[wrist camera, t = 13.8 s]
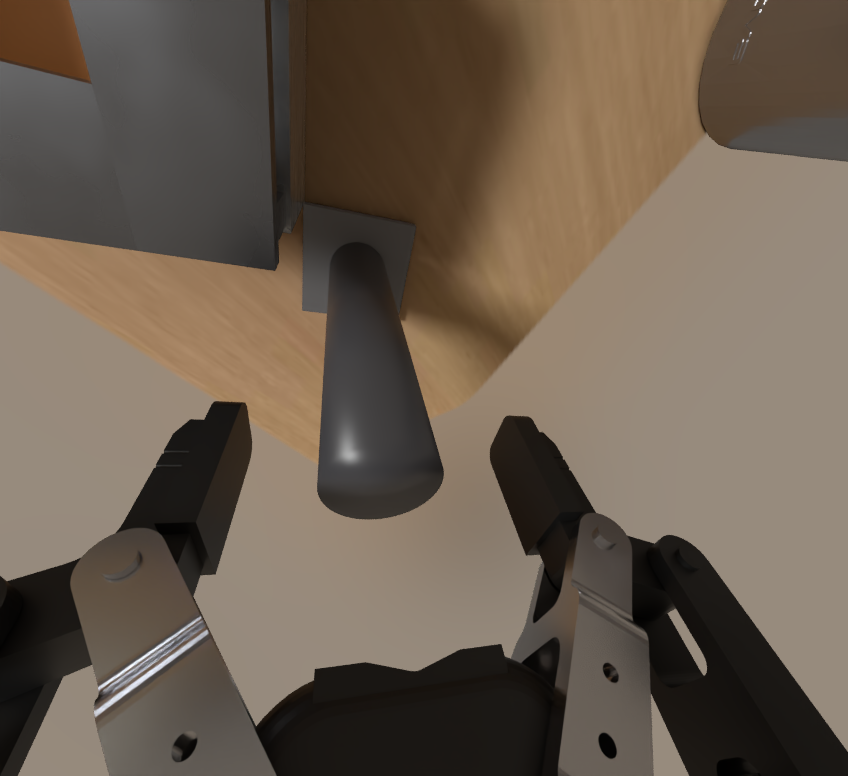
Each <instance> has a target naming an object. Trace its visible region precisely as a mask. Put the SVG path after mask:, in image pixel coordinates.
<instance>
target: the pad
mask: <svg viewBox="0 0 848 776" xmlns="http://www.w3.org/2000/svg"><path fill="white" fill-rule="evenodd" d="M415 231H416V225H415V224H412V223H408V222H403V221H398V220H393V219H388V218H383V217H378V216H373V215H368V214H363V213H358V212H353V211H348V210H344V209H339V208H334V207H329V206H324V205H319V204H314V203H309V202H304V204H303V298H302V311H310V312H319V313H327V304H328V287H329V269H330V261H331V258H332V256H333V254H334V253H335V252H336V250H337V249H338V248H340V247H341V246H343V245H345V244H348V243H352V242H360V243H364V244H367V245H369V246H371V247H372V248H374V249H375V250H376V251H377V252H378V253H379V254H380V256H381V257H382V260H383V262H384V265H385V269H386V272H387V276H388V279H389V283H390V286H391V290H392V293H393V297H394V300H395V303H396V307H397V310H398V314H399V312H400V307H401V302H402V297H403V292H404V287H405V282H406V276H407V271H408V266H409V261H410V256H411V251H412V246H413V241H414V236H415Z"/></svg>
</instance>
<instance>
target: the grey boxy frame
mask: <svg viewBox="0 0 848 776" xmlns="http://www.w3.org/2000/svg"><path fill="white" fill-rule="evenodd" d="M69 3H70V7H71V10H72V14H73V18H74V21H75V25H76V29H77V32H78V36H79V40H80V43H81V47H82V51H83V54H84V58H85V62H86V65H87V69H88V72H89V76H90V80H91V81H90V80H86V79H82V78H78V77H74V76H70V75H66V74H62V73H58V72H54V71H50V70H46V69H43V68H39V67H35V66H31V65H27V64H23V63H19V62H15V61H11V60H7V59H3V58H0V231H6V232H13V233H20V234H27V235H34V236H41V237H47V238H54V239H61V240H68V241H75V242H82V243H88V244H95V245H102V246H109V247H116V248H123V249H129V250H136V251H143V252H150V253H157V254H164V255H170V256H177V257H184V258H191V259H198V260H205V261H211V262H218V263H225V264H232V265H239V266H246V267H252V268H259V269H266V270H273V271H275V270H276V268H277V265H278V263H279V247H278V241H279V239H280V237H281V235H282V233H283V232H284V233H290V234H291V232H292V230H293V227H294V225H295V223H296V220H297V218H298V216H299V213H300V211H301V209H302V206H303V204H304V201H305V115H306V30H307V0H69Z"/></svg>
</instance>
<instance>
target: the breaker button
mask: <svg viewBox="0 0 848 776" xmlns="http://www.w3.org/2000/svg"><path fill="white" fill-rule="evenodd" d="M0 58H3V59H7V60H11V61H15V62H19V63H23V64H27V65H31V66H35V67H39V68H43V69H46V70H50V71H54V72H58V73H62V74H66V75H70V76H74V77H78V78H82V79H86V80H90V76H89V72H88V69H87V65H86V62H85V58H84V54H83V51H82V47H81V43H80V40H79V36H78V32H77V29H76V25H75V21H74V18H73V14H72V10H71V7H70V3H69V0H0ZM90 81H91V80H90Z"/></svg>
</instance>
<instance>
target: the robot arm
mask: <svg viewBox="0 0 848 776" xmlns="http://www.w3.org/2000/svg"><path fill="white" fill-rule="evenodd" d="M699 108H700V113H701V118H702V123H703V125H704V127H705V129H706V131H707V133H708V135H709V137H711V138H712V139H713V140H714V141H715V142H716V143H717V144H718V145H721V146H724V147H727V148H730V149H737V150H747V151H756V152H766V153H775V154H784V155H794V156H800V157H810V158H819V159H828V160H839V161H847V162H848V0H728V1H727V3H726V5H725V7H724V10H723V12H722V14H721V16H720V18H719V21H718V23H717V25H716V27H715V30H714V32H713V35H712V38H711V41H710V44H709V47H708V50H707V53H706V56H705V59H704V64H703V69H702V75H701V80H700V90H699ZM251 452H252V437H251V430H250V424H249V417H248V410H247V406H246V403H243V402H221V401H215V402H213V404H212V405H211V407H210V409H209V411H208V413H207V415H206V417H205V419H204V420H193V419H191V420H189V421H188V422H187V423H186V424H184V425H183V426H182V427H181V428H179V429H178V430H177V431H176V432H175V433H174V434H173V435H172V437H171V439H170V441H169V442H168V444H167V446H166V448H165V449H164V454H162V455H161V457H160V458H159V460H158V462H157V464H156V468H154V469H153V471H152V473H151V475H150V476H149V478H148V480H147V482H146V483H145V485H144V487H143V489H142V491H141V492H140V494H139V496H138V498H137V499H136V501H135V503H134V505H133V506H132V508H131V510H130V512H129V514H128V515H127V517H126V519H125V521H124V522H123V524H122V525H121V527H120V528H119V530H118V531H117V532H116V533H115V534H113V535H110V536H109V537H107V538H105V539H103V540H102V541H100V542H99V543H97V544H96V545H94V546H93V547H92V548H91V549H89V550H88V551H87V552H86V554H84V555H83V557H82V558H79V559H77V560H75V561H72V562H69V563H67V564H64V565H60V566H57V567H54V568H50V569H47V570H44V571H41V572H37V573H34V574H30V575H27V576H24V577H20V578H17V579H13V580H10V581H6V580H4V579H3V578H2V577H1V576H0V776H18V774H19V772H20V769H21V767H22V765H23V763H24V761H25V759H26V757H27V754H28V752H29V750H30V748H31V746H32V743H33V741H34V739H35V737H36V735H37V733H38V730H39V728H40V726H41V724H42V722H43V720H44V717H45V715H46V713H47V711H48V709H49V707H50V704H51V702H52V700H53V698H54V695H55V693H56V691H57V689H58V687H59V685H60V683H61V680H62V678H63V676H66V675H68V674H71V673H73V672H75V671H78V670H80V669H82V668H85V667H88V666H90V665H93V669H94V672H95V676H96V679H97V683H98V688H99V695H98V698H97V699H96V700H95V704H94V715H95V721H96V726H97V731H98V735H99V738H100V742H101V746H102V750H103V753H104V757H105V761H106V765H107V768H108V772H109V776H653V748H652V747H653V746H652V718H651V694H652V696H653V698H654V701H655V703H656V705H657V707H658V709H659V711H660V713H661V716H662V718H663V720H664V722H665V724H666V727H667V729H668V731H669V733H670V735H671V737H672V740H673V742H674V744H675V746H676V748H677V750H678V753H679V755H680V757H681V759H682V761H683V763H684V765H685V768H686V770H687V772H688V774H689V776H848V752H847V750H846V749H845V748H844V746H843V745H842V743H841V742H840V741H839V739H838V738H837V737H836V735H835V734H834V733H833V731H832V730H831V728H830V727H829V726H828V724H827V723H826V722H825V720H824V719H823V718H822V716H821V715H820V713H819V712H818V711H817V709H816V708H815V707H814V705H813V704H812V702H811V701H810V700H809V698H808V697H807V696H806V694H805V693H804V691H803V690H802V689H801V687H800V686H799V685H798V683H797V682H796V681H795V679H794V678H793V676H792V675H791V674H790V672H789V671H788V669H787V668H786V667H785V665H784V664H783V663H782V661H781V660H780V659H779V657H778V656H777V654H776V653H775V652H774V650H773V649H772V648H771V646H770V645H769V643H768V642H767V641H766V639H765V638H764V637H763V635H762V634H761V632H760V631H759V630H758V628H757V627H756V626H755V624H754V623H753V622H752V620H751V619H750V617H749V616H748V615H747V614H746V612H745V611H744V609H743V608H742V606H741V605H740V604H739V603H738V601H737V600H736V598H735V597H734V595H733V594H732V593H731V592H730V590H729V589H728V587H727V586H726V584H725V583H724V582H723V580H722V579H721V578H720V576H719V575H718V573H717V572H716V571H715V570H714V568H713V567H712V565H711V564H710V563H709V561H708V560H707V559H706V558H705V556H704V555H703V554H702V553H701V552H700V551H699V550H698V549H697V548H696V547H695V546H693V545H692V544H691V543H689V542H688V541H685V540H684V539H682V538H679V537H677V536H673V535H666V536H663V537H662V538H661V539H660V540H658V541H657V542H656V543H655V544H654V543H650V542H647V541H643V540H640V539H636V538H633V537H630V536H627V535H626V533H625V532H624V531H623V529H621V527H620V526H619V525H618V524H617V523H615V522H614V521H613V520H611V519H610V518H608V517H606V516H604V515H601V514H598V513H596V512H595V510H594V509H593V507H592V506H591V504H590V502H589V500H588V499H587V497H586V495H585V494H584V492H583V490H582V489H581V487H580V485H579V484H578V482H577V480H576V479H575V477H574V475H573V473H572V472H571V471H570V470H569V467H568V465H567V463H566V462H565V460H563V456H562V455H561V453H560V451H559V450H558V448H557V446H556V445H555V444H554V442H552V441H551V440H550V439H549V438H548V437H547V436H546V435H545V434H544V433H542V432H539V431H538V429H537V427H536V425H535V424H534V422H533V420H532V419H531V418H530V417H525V416H506V417H505V418H504V420H503V422H502V424H501V426H500V428H499V430H498V433H497V435H496V437H495V439H494V441H493V443H492V445H491V448H490V461H491V465H492V467H493V470H494V472H495V475H496V478H497V480H498V483H499V486H500V488H501V491H502V493H503V496H504V499H505V502H506V504H507V507H508V509H509V512H510V515H511V517H512V520H513V523H514V525H515V528H516V531H517V533H518V536H519V538H520V541H521V544H522V546H523V549H524V551H525V554H526V555H540V556H541V558H542V561H543V562H542V564H541V565H540V567H539V571H538V575H537V579H536V583H535V587H534V591H533V596H532V600H531V604H530V608H529V612H528V617H527V620H526V624H525V627H524V630H523V632H522V634H521V636H520V638H519V639H518V641H517V643H516V646H515V649H514V651H513V654H512V657H511V659H510V658H507V657H505V656H504V652H503V649H502V645H501V644H498V645H491V646H483V647H476V648H468V649H462V650H458V651H456V652H455V653H453V654H451V655H449V656H447V657H445V658H443V659H441V660H439V661H437V662H435V663H433V664H431V665H429V666H427V667H425V668H423V669H422V670H419V671H407V670H402V669H397V668H392V667H387V666H381V665H377V664H371V663H366V662H365V663H357V664H351V665H343V666H336V667H328V668H320V669H315V675H314V681H312V682H310V683H308V684H305V685H304V686H302V687H300V688H299V689H297V690H295V691H294V692H292V693H291V694H289V695H288V696H287V697H286V698H284V699H283V700H282V701H281V702H279V703H278V704H277V705H276V706H275V707H274V708H273V709H272V710H271V711H270V712H269V713H268V714H267V715H266V716H265V717H264V718H263V719H262V720H261V721H260V723H259V724H258V725H257V726H256V725H255V723H254V721H253V719H252V717H251V715H250V713H249V711H248V709H247V707H246V704H245V703H244V700H243V698H242V696H241V694H240V692H239V690H238V688H237V686H236V684H235V682H234V680H233V678H232V676H231V674H230V672H229V670H228V668H227V666H226V663H225V661H224V659H223V657H222V655H221V653H220V651H219V649H218V647H217V645H216V643H215V641H214V639H213V636H212V634H211V632H210V630H209V628H208V626H207V624H206V622H205V620H204V618H203V616H202V614H201V612H200V609H199V608H198V605H197V604H196V601H195V599H194V597H193V596H194V593H195V590H196V587H197V584H198V581H199V578H200V575H212V574H216V571H217V567H218V564H219V561H220V558H221V555H222V551H223V548H224V545H225V541H226V538H227V534H228V531H229V528H230V525H231V521H232V518H233V515H234V512H235V508H236V504H237V501H238V498H239V495H240V492H241V488H242V485H243V482H244V478H245V475H246V472H247V468H248V465H249V462H250V458H251ZM675 608H676V609H677V611H678V612H679V614H680V616H681V618H682V619H683V621H684V623H685V624H686V626H687V628H688V629H689V631H690V633H691V634H692V636H693V638H694V639H695V641H696V643H697V644H698V646H699V648H700V650H701V651H702V653H703V655H704V657H705V659H706V663H707V673H706V675H705V676H704V675H703V674H702V673H701V671H700V670H699V668H698V666H697V665H696V663H695V661H694V659H693V657H692V656H691V654H690V652H689V650H688V649H687V647H686V645H685V643H684V642H683V640H682V638H681V636H680V635H679V633H678V631H677V629H676V628H675V626H674V624H673V622H672V621H671V619H670V617H669V615H668V614H667V613H669V612H670V611H672V610H674V609H675Z"/></svg>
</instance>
